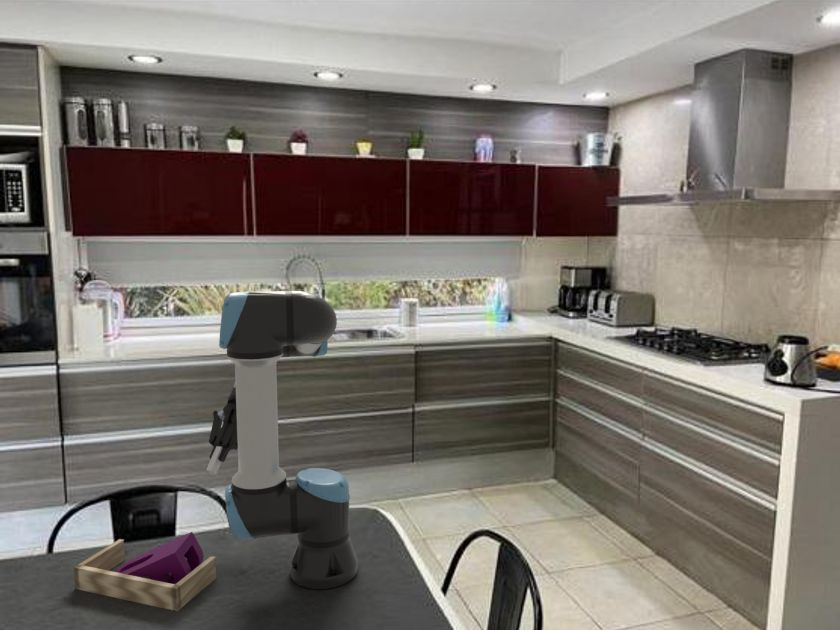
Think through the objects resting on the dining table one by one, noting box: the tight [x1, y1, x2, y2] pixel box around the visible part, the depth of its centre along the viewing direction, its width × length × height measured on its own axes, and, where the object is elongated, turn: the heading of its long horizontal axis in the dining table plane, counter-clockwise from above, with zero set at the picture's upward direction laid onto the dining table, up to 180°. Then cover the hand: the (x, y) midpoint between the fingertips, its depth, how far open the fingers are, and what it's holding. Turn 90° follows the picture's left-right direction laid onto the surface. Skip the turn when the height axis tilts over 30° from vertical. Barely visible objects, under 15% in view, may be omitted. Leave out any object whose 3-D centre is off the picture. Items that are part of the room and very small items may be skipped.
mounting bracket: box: [114, 531, 204, 584], centre depth 141 cm, size 10×8×18 cm
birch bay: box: [73, 538, 217, 612], centre depth 140 cm, size 26×13×5 cm, turn 72°
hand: (211, 472), depth 159 cm, fingers closed
